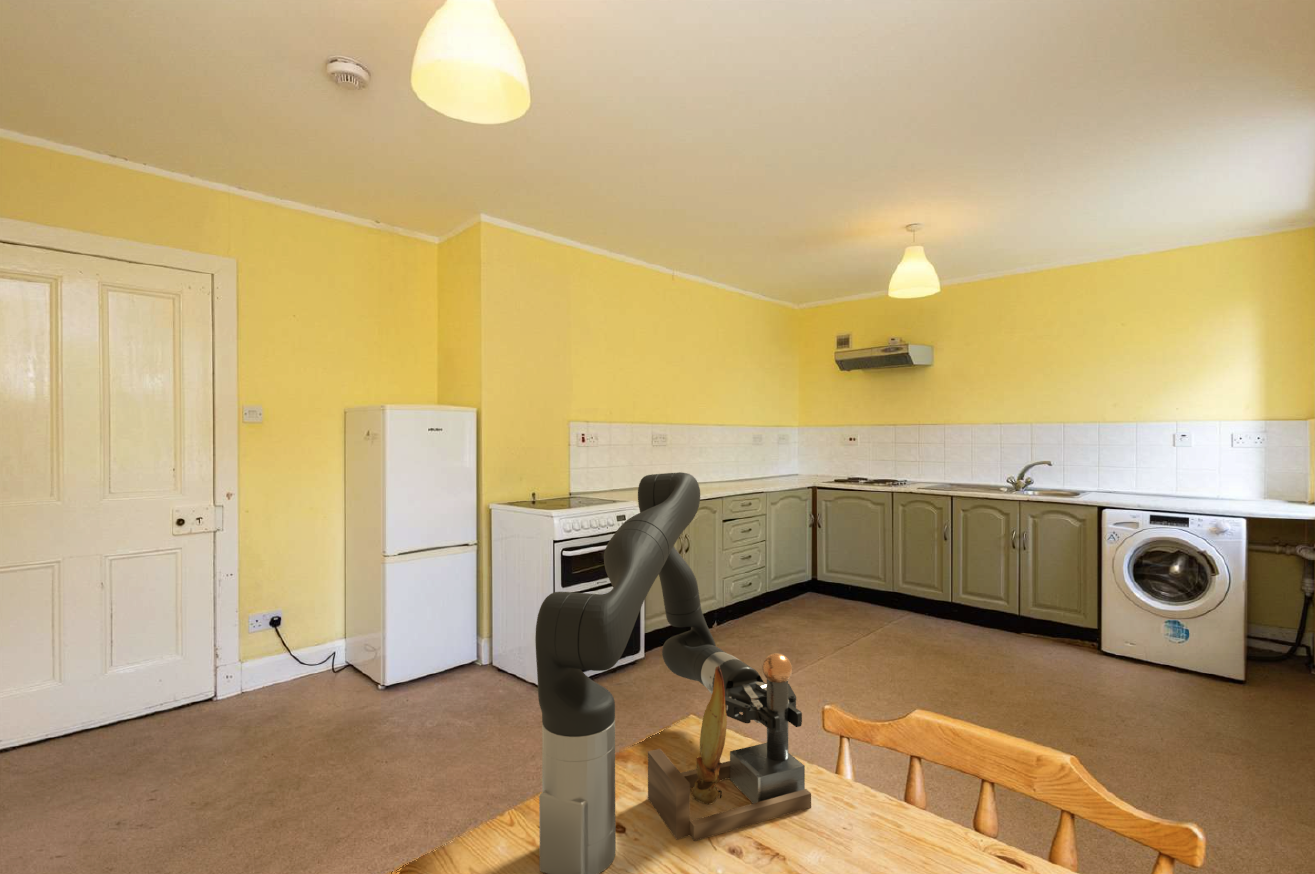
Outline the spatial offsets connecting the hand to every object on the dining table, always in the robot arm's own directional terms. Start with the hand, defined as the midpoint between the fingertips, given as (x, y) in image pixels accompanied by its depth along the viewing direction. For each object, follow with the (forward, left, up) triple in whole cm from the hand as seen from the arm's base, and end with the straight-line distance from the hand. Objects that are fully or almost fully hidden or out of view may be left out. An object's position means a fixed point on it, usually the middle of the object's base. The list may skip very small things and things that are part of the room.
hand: (788, 722), depth 91 cm
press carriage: (+1, +3, -11) cm, 11 cm away
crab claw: (-6, +10, -11) cm, 17 cm away
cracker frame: (-4, +8, -11) cm, 14 cm away
